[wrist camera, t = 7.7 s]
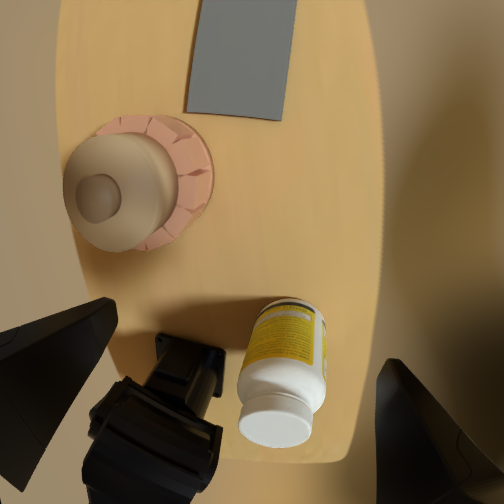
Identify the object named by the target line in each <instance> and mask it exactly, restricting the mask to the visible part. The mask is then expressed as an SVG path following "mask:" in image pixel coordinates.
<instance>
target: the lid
mask: <svg viewBox="0 0 504 504" xmlns="http://www.w3.org/2000/svg"><path fill="white" fill-rule="evenodd" d="M178 191H179V186H178V176H177V172H176V168H175V165H174V163H173V160H172V159H171V157H170V155H169V153H168V152H167V151H166V149H165V148H164V147H163V146H162V145H161V144H160V143H159V142H158V141H157V140H155V139H154V138H152V137H150V136H148V135H146V134H143V133H139V132H124V133H116V134H107V135H100V136H95V137H92V138H90V139H87V140H86V141H84V142H83V143H81V144H80V145H79V146H78V147H77V148H76V149H75V151H74V152H73V153H72V155H71V157H70V158H69V161H68V163H67V165H66V169H65V172H64V178H63V196H64V202H65V206H66V210H67V213H68V215H69V218H70V220H71V222H72V224H73V225H74V227H75V228H76V230H77V231H78V232H79V234H80V235H81V236H82V237H83V238H84V239H85V240H86V241H87V242H89V243H90V244H91V245H93V246H95V247H96V248H98V249H101V250H103V251H107V252H124V251H127V250H130V249H132V248H134V247H135V246H137V245H138V244H139V243H140V242H142V241H143V240H144V239H146V238H147V237H148V236H150V235H151V234H152V233H154V232H155V231H157V230H158V229H159V228H161V227H162V226H163V225H164V224H165V223H166V222H167V221H168V219H169V218H170V217H171V215H172V213H173V211H174V209H175V206H176V203H177V199H178Z"/></svg>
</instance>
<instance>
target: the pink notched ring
mask: <svg viewBox="0 0 504 504" xmlns="http://www.w3.org/2000/svg"><path fill="white" fill-rule="evenodd" d="M124 132H139V133H143V134H146V135H148V136H150V137H152V138H154V139H155V140H157V141H158V142H159V143H160V144H161V145H162V146H163V147H164V148H165V149H166V151H167V152H168V153H169V155H170V157H171V159H172V160H173V163H174V165H175V168H176V172H177V176H178V186H179V191H178V199H177V203H176V206H175V209H174V211H173V213H172V215H171V217H170V218H169V219H168V221H167V222H166V223H165V224H164V225H163V226H162V227H161V228H159V229H158V230H157V231H155V232H154V233H152V234H151V235H150V236H148V237H147V238H146V239H144V240H143V241H142V242H140V243H139V244H138V245H137V246H135V247H134V248H132V249H135V250H139V251H144V252H145V251H146V250H147V249H148V250H149V251H151V250H154V249H156V248H159V247H161V246H164V245H166V244H169V243H171V242H173V241H174V240H175V239H177V238H178V237H179V236H180V235H181V234H182V233H184V232H185V231H186V230H187V229H188V228H189V227H190V226H191V225H192V224H193V223H194V221H195V220H196V219H197V218H198V217H199V216H200V215H201V214H202V212H203V211H204V210H205V208H206V206H207V205H208V203H209V200H210V198H211V195H212V191H213V186H214V165H213V161H212V157H211V154H210V151H209V149H208V147H207V145H206V143H205V141H204V140H203V139H202V137H201V136H200V135H199V134H198V132H197V131H196V130H195V129H193V128H192V127H191V126H190V125H188V124H187V123H185V122H183V121H181V120H179V119H177V118H173V117H169V116H156V115H129V116H121V117H116V118H115V119H113V120H112V121H111V122H109V123H108V124H106V125H105V126H104V127H102V128H101V129H100V130H98V131H97V132H96V135H97V136H100V135H107V134H116V133H124ZM93 137H95V136H93Z"/></svg>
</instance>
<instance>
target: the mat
mask: <svg viewBox="0 0 504 504" xmlns="http://www.w3.org/2000/svg"><path fill="white" fill-rule="evenodd" d="M296 4H297V0H203V3H202V8H201V13H200V19H199V25H198V31H197V37H196V43H195V50H194V56H193V64H192V71H191V78H190V86H189V95H188V104H187V112H196V113H212V114H225V115H237V116H246V117H255V118H264V119H272V120H279V121H281V120H282V112H283V105H284V97H285V90H286V83H287V75H288V67H289V60H290V52H291V44H292V36H293V29H294V21H295V13H296Z"/></svg>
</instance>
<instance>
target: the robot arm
mask: <svg viewBox="0 0 504 504" xmlns="http://www.w3.org/2000/svg"><path fill="white" fill-rule="evenodd" d="M117 324H118V314H117V308H116V302H115V301H114V300H113V299H110V298H107V297H102V298H100V299H97V300H94V301H91V302H88V303H85V304H82V305H79V306H76V307H73V308H71V309H68V310H65V311H62V312H59V313H56V314H53V315H50V316H47V317H44V318H42V319H39V320H36V321H33V322H30V323H27V324H24V325H21V326H20V327H16V328H13V329H10V330H7V331H4V332H1V333H0V475H1V476H2V477H3V478H5V479H6V480H7V481H8V482H9V483H10V484H12V485H13V486H14V487H16V488H17V489H18V490H19V491H20V492H23V491H24V490H25V488H26V486H27V484H28V482H29V480H30V478H31V476H32V474H33V472H34V470H35V468H36V466H37V464H38V463H39V461H40V459H41V457H42V455H43V453H44V452H45V450H46V449H45V448H46V447H47V446H48V444H49V442H50V440H51V439H52V437H53V435H54V433H55V431H56V430H57V428H58V426H59V425H60V423H61V421H62V419H63V418H64V416H65V414H66V413H67V411H68V409H69V408H70V406H71V404H72V403H73V401H74V399H75V398H76V396H77V395H78V393H79V391H80V390H81V388H82V386H83V385H84V383H85V382H86V380H87V379H88V377H89V375H90V374H91V372H92V371H93V369H94V368H95V366H96V364H97V363H98V361H99V359H100V358H101V356H102V354H103V352H104V350H105V348H106V346H107V344H108V342H109V340H110V338H111V336H112V335H113V333H114V331H115V329H116V327H117ZM160 338H161V339H160ZM155 343H156V352H157V363H156V365H155V366H154V368H153V369H152V371H151V373H150V374H149V376H148V378H147V379H146V381H145V382H144V384H143V386H141V385H139V384H138V383H136V382H135V381H133V380H132V378H130V377H128V376H127V375H126V377H125V378H124V379H123V380H122V381H119V382H115V383H114V385H113V386H112V388H111V389H110V391H109V392H108V393H107V394H106V395H105V397H103V398H102V400H100V401H99V402H98V403H97V404H96V405H95V406H94V407H93V408H92V409H91V410H90V412H89V417H90V420H91V423H90V429H89V432H88V436H89V437H90V438H92V439H93V440H94V441H93V443H92V445H91V447H90V449H89V451H88V453H87V454H86V456H85V458H84V461H83V466H82V481H83V483H84V484H85V485H86V487H87V493H88V499H89V504H190V502H191V501H192V499H193V497H194V496H195V494H196V493H201V492H202V491H203V490H205V488H206V487H207V486H208V484H209V483H210V481H211V480H212V477H213V476H214V473H215V471H216V468H217V465H218V459H219V453H220V446H221V440H222V433H223V427H221V426H219V425H214V424H212V423H210V422H208V421H206V420H203V418H204V416H205V413H206V410H207V408H208V405H209V403H210V400H211V397H212V396H213V397H217V398H220V397H221V396H222V393H223V382H224V371H225V360H226V352H225V351H224V350H223V349H220V348H215V347H211V346H207V345H203V344H199V343H196V342H192V341H188V340H184V339H181V338H177V337H173V336H170V335H166V334H163V333H158V334H157V335H156V337H155ZM219 354H221V355H219ZM375 408H376V409H375V437H376V464H377V465H376V466H377V467H376V469H377V491H376V504H504V473H503V471H501V469H499V467H497V465H495V464H494V463H493V462H492V461H491V460H490V459H489V458H488V457H487V456H486V455H485V454H484V453H483V452H482V451H481V450H480V449H479V448H478V446H477V445H476V444H475V443H474V442H473V441H472V440H471V439H470V438H469V437H468V435H467V434H466V433H465V432H464V431H463V430H462V429H460V426H459V425H458V424H457V423H456V421H455V420H454V419H453V418H452V417H451V416H450V415H449V413H447V411H446V410H445V409H444V408H443V407H442V406H441V404H440V403H439V402H438V401H437V400H436V399H435V397H434V396H433V395H432V394H431V393H430V392H429V391H428V390H427V389H426V387H425V386H424V385H423V384H422V383H421V382H420V381H419V380H418V379H417V377H415V375H414V374H413V373H412V372H411V371H410V370H409V369H408V367H407V366H406V365H405V364H404V363H403V362H402V361H401V360H400V359H395V358H388V359H387V360H386V361H385V364H384V365H383V367H382V369H381V371H380V373H379V375H378V377H377V382H376V407H375ZM0 504H1V500H0Z"/></svg>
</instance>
